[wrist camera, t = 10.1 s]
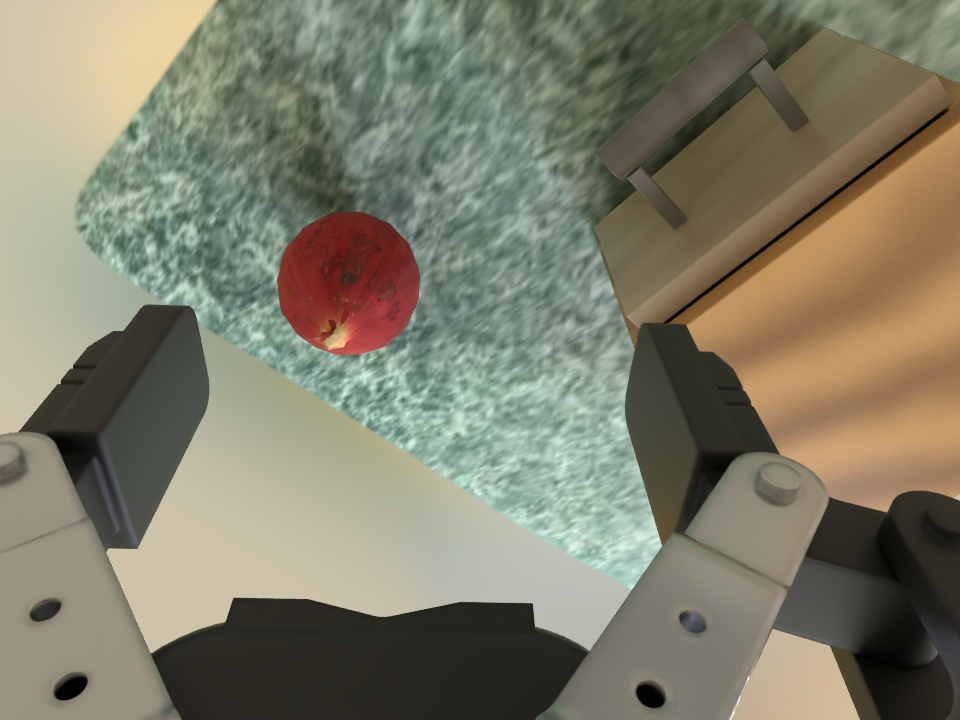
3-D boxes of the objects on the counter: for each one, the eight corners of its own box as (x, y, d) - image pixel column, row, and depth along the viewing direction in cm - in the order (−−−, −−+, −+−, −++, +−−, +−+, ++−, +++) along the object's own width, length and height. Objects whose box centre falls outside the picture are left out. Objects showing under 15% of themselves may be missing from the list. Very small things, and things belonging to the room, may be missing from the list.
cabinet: (597, 244, 33) (638, 360, 25) (843, 34, 28) (992, 96, 20) (768, 417, 39) (846, 555, 31) (997, 268, 34) (1159, 388, 26)
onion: (318, 164, 31) (277, 243, 24) (442, 214, 32) (436, 302, 25) (283, 275, 34) (237, 373, 27) (398, 317, 35) (381, 420, 28)
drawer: (528, 160, 30) (545, 238, 23) (763, -64, 25) (864, -45, 19) (760, 397, 37) (822, 507, 30) (975, 254, 32) (1101, 347, 26)
